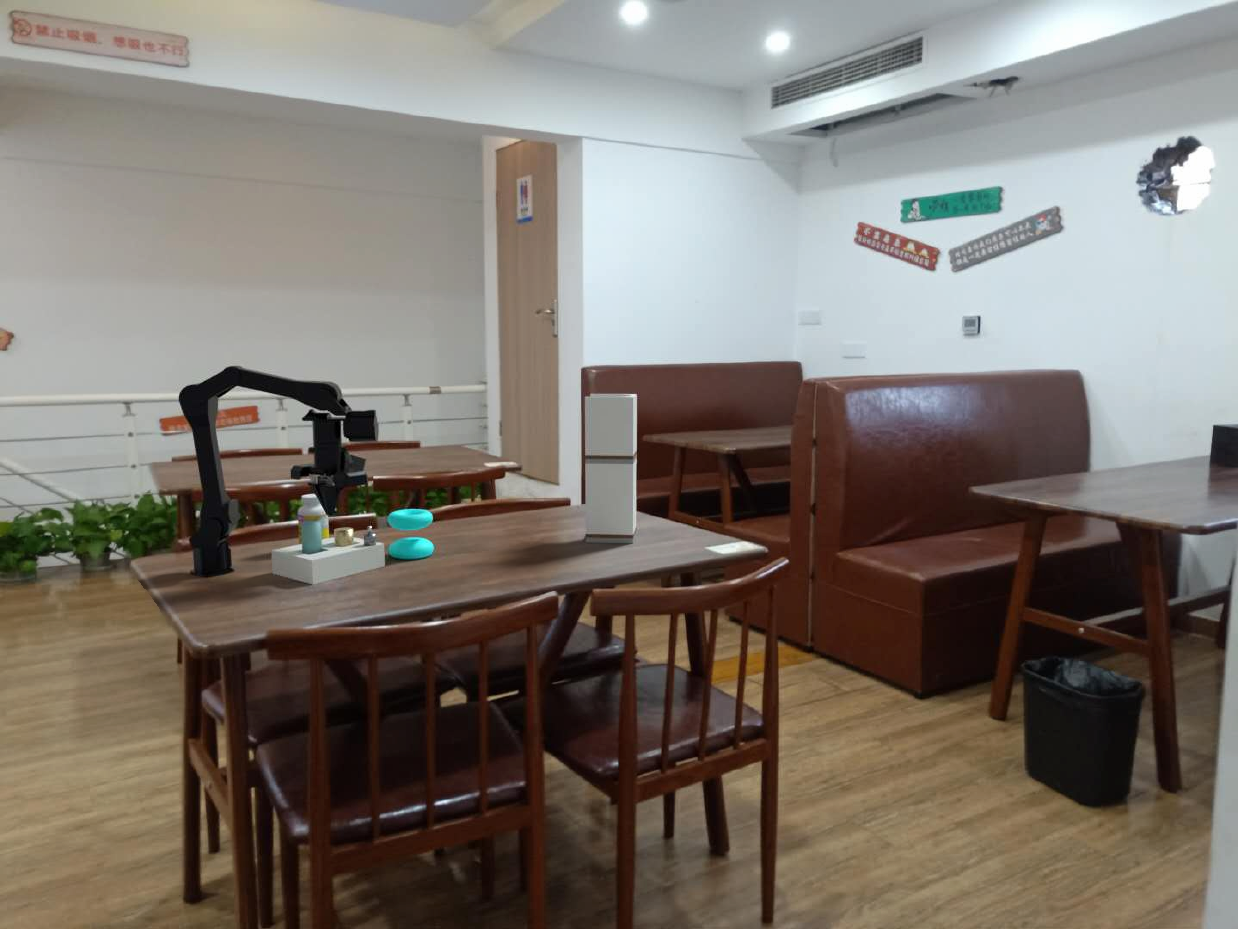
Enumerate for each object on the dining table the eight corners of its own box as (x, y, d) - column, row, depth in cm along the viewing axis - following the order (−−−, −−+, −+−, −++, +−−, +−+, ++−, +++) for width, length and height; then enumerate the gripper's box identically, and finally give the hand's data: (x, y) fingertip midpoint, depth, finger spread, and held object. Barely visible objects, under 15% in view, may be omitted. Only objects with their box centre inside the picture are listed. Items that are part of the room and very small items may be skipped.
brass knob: (343, 564, 194) (341, 532, 193) (331, 561, 196) (330, 529, 195) (358, 560, 197) (357, 529, 196) (347, 558, 199) (345, 526, 198)
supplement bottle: (293, 551, 210) (290, 496, 208) (315, 545, 216) (312, 492, 214) (314, 554, 207) (311, 499, 205) (335, 548, 213) (333, 494, 211)
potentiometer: (369, 546, 193) (368, 528, 192) (361, 545, 195) (360, 526, 194) (378, 544, 195) (378, 526, 194) (371, 542, 197) (370, 524, 196)
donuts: (378, 515, 201) (401, 506, 211) (380, 559, 203) (402, 549, 212) (419, 517, 199) (440, 509, 208) (420, 562, 200) (441, 551, 210)
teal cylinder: (310, 558, 187) (308, 525, 186) (298, 555, 189) (296, 522, 188) (326, 554, 190) (325, 522, 189) (315, 552, 193) (313, 519, 192)
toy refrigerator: (636, 533, 228) (636, 394, 223) (633, 543, 218) (633, 397, 213) (591, 532, 229) (590, 393, 224) (585, 542, 219) (584, 396, 214)
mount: (313, 584, 182) (311, 560, 182) (272, 573, 191) (271, 550, 190) (384, 566, 197) (384, 543, 196) (344, 556, 205) (343, 535, 204)
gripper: (387, 442, 192) (389, 515, 194) (331, 435, 202) (333, 504, 205) (343, 447, 183) (346, 523, 185) (287, 439, 193) (290, 512, 196)
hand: (329, 515), depth 193 cm, fingers closed
